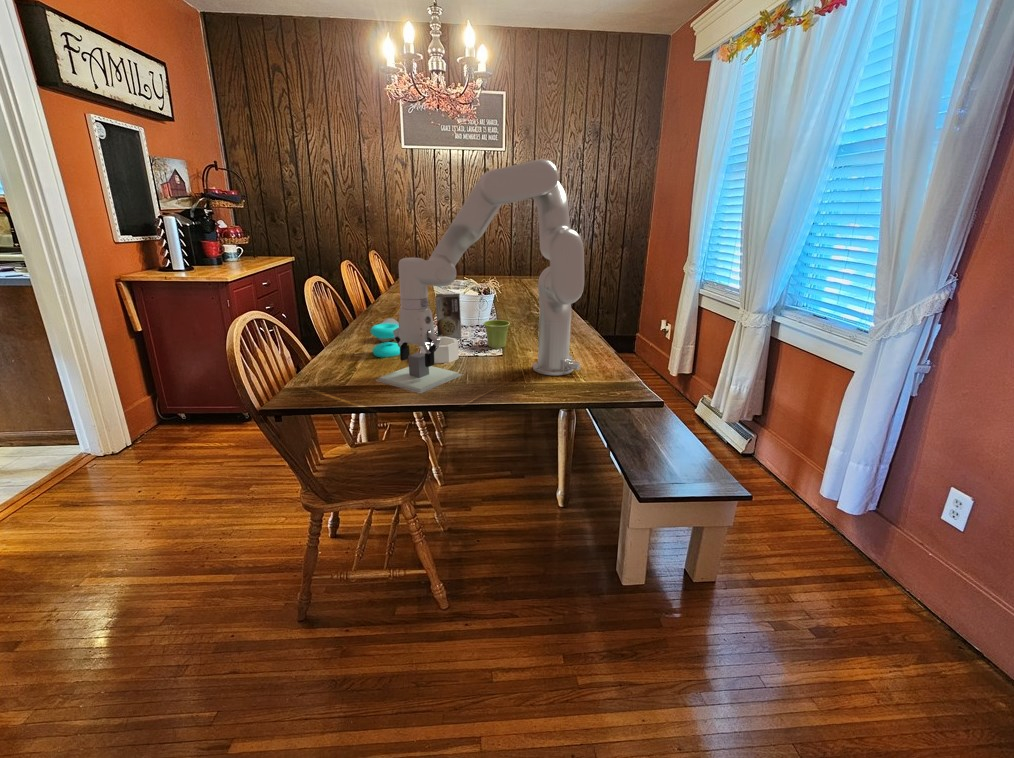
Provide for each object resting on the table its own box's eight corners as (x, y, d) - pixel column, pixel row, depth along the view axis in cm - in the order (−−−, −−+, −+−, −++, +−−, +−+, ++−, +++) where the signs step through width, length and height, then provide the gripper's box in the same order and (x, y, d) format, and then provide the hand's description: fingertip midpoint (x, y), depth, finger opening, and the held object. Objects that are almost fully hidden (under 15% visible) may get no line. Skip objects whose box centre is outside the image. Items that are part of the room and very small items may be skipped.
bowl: (465, 357, 160) (464, 340, 158) (441, 367, 150) (440, 348, 148) (438, 351, 166) (437, 334, 164) (413, 360, 157) (412, 342, 155)
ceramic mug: (374, 342, 176) (372, 322, 174) (383, 337, 184) (381, 317, 181) (401, 344, 175) (400, 324, 172) (409, 338, 182) (408, 319, 180)
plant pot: (507, 350, 168) (507, 326, 165) (481, 349, 169) (481, 325, 166) (511, 343, 176) (511, 320, 173) (486, 342, 178) (486, 319, 175)
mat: (463, 376, 142) (462, 374, 142) (421, 395, 128) (420, 393, 128) (418, 365, 152) (418, 363, 152) (374, 382, 138) (374, 380, 138)
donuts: (374, 322, 164) (403, 322, 164) (377, 350, 168) (405, 350, 168) (366, 329, 155) (397, 329, 155) (369, 358, 158) (399, 359, 158)
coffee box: (461, 334, 189) (460, 293, 183) (461, 338, 183) (459, 296, 177) (438, 334, 188) (436, 293, 183) (437, 338, 182) (435, 296, 176)
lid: (458, 375, 142) (457, 353, 140) (420, 391, 129) (419, 367, 127) (418, 365, 150) (417, 344, 148) (379, 379, 138) (377, 357, 135)
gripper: (447, 305, 131) (448, 365, 137) (401, 298, 140) (405, 354, 146) (428, 310, 125) (430, 372, 131) (382, 302, 134) (386, 360, 140)
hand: (417, 362), depth 138 cm, fingers open, 9 cm apart
